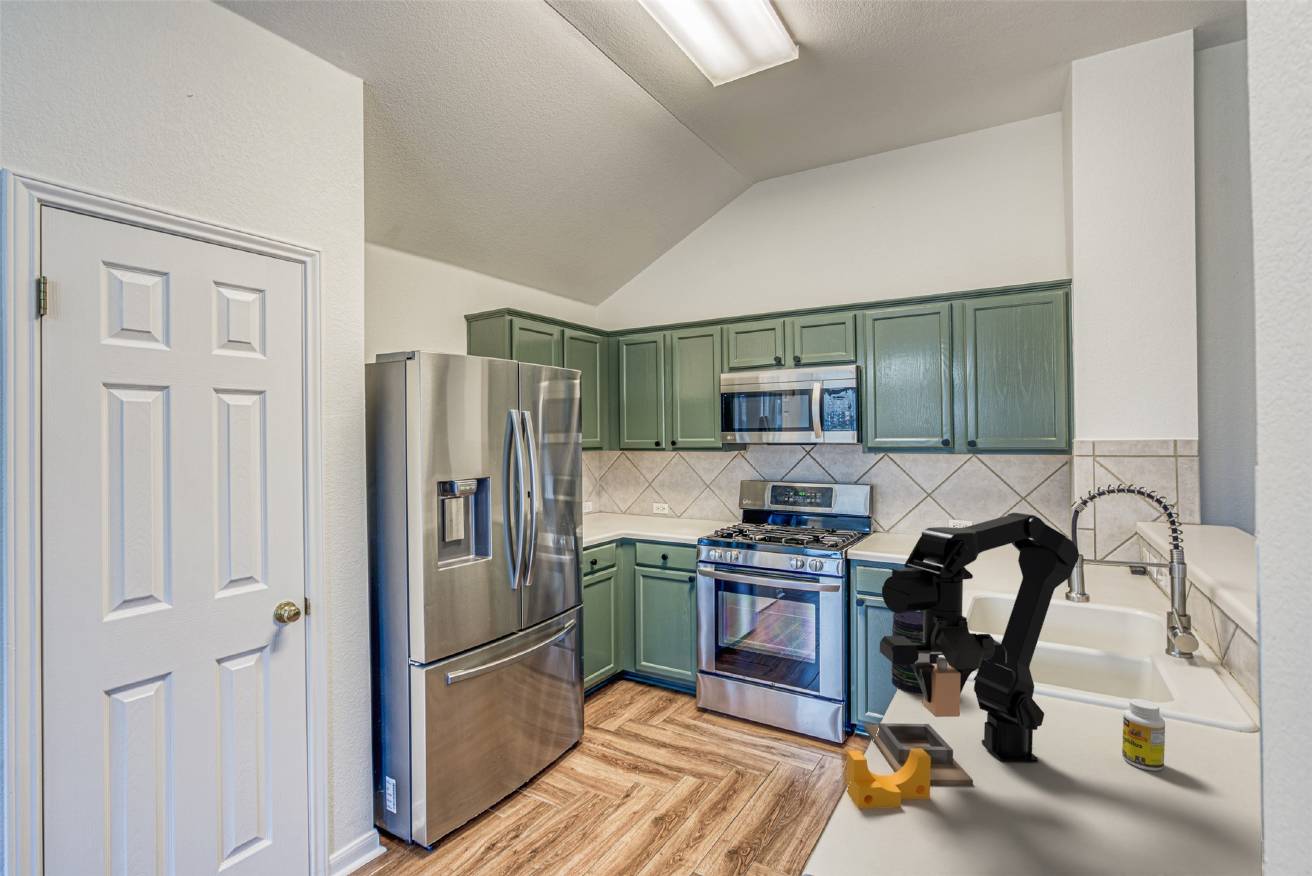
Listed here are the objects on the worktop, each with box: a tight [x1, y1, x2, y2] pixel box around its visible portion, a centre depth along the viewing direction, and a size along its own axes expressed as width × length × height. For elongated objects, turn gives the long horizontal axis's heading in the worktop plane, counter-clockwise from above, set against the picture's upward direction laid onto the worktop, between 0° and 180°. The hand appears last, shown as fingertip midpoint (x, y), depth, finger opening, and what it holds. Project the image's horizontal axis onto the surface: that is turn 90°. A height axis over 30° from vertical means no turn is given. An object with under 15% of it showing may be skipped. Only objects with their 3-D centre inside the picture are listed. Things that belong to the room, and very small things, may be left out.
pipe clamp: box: [846, 748, 931, 810], centre depth 94 cm, size 12×4×6 cm, turn 95°
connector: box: [922, 656, 961, 718], centre depth 101 cm, size 4×4×9 cm
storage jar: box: [890, 611, 940, 695], centre depth 135 cm, size 10×10×15 cm
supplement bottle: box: [1121, 698, 1166, 772], centre depth 104 cm, size 6×6×10 cm
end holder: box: [863, 722, 974, 786], centre depth 106 cm, size 11×18×3 cm, turn 0°
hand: (941, 701), depth 101 cm, fingers closed on connector, 4 cm apart
